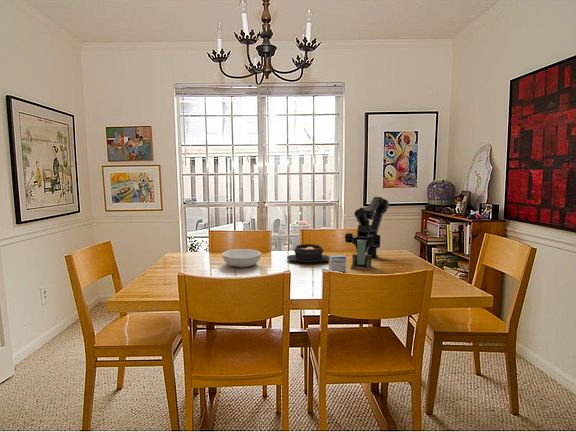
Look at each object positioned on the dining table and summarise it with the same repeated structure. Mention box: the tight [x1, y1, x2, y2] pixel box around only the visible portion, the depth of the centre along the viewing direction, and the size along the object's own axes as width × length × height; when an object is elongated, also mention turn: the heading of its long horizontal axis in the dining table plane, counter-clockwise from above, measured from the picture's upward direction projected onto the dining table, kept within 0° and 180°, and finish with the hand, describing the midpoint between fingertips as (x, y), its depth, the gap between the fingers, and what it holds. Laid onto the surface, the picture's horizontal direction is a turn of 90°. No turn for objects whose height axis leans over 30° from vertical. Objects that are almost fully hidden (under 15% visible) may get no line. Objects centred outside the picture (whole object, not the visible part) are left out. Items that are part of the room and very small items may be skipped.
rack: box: [350, 253, 372, 271], centre depth 192 cm, size 10×10×6 cm
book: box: [356, 239, 367, 265], centre depth 191 cm, size 5×4×12 cm
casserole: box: [286, 243, 330, 264], centre depth 205 cm, size 25×19×8 cm
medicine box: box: [328, 254, 347, 272], centre depth 182 cm, size 8×4×9 cm, turn 101°
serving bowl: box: [222, 248, 262, 268], centre depth 195 cm, size 21×21×7 cm
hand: (361, 251), depth 190 cm, fingers closed on book, 4 cm apart
